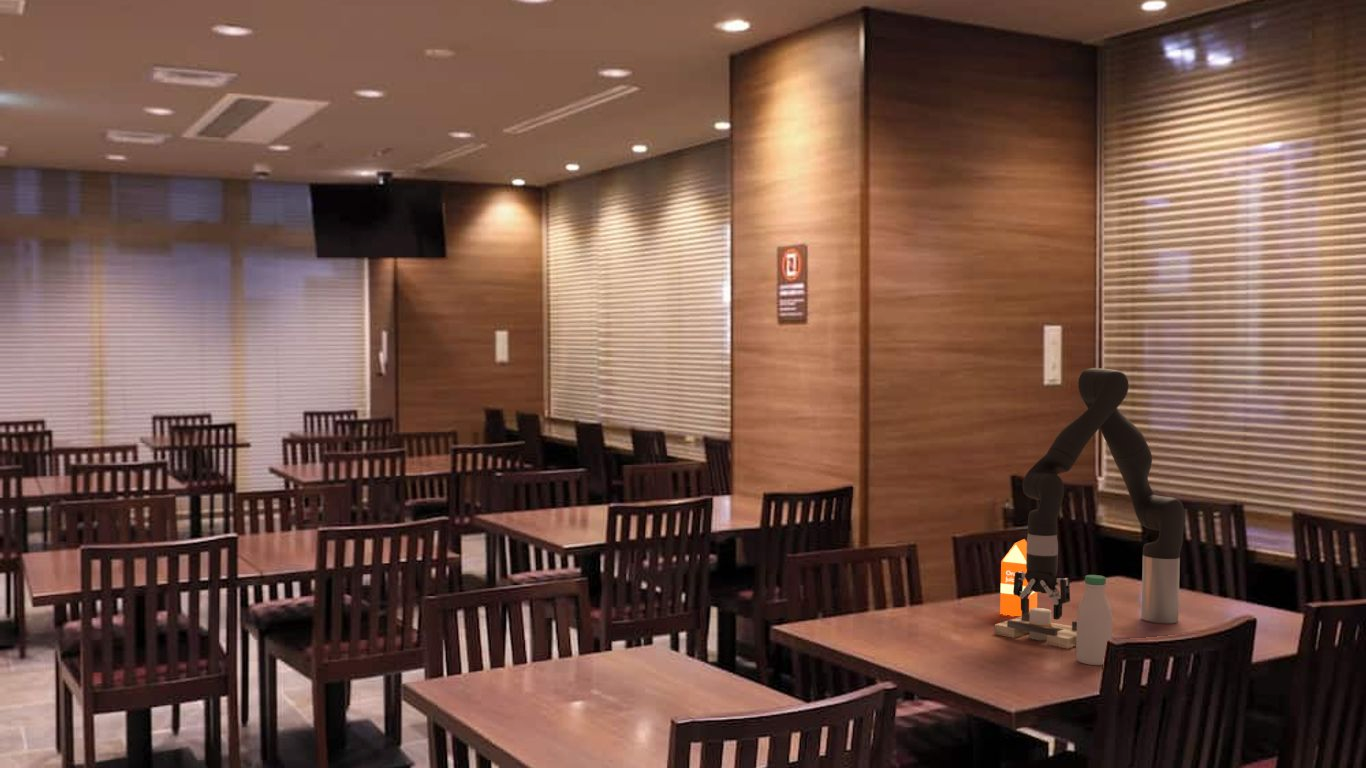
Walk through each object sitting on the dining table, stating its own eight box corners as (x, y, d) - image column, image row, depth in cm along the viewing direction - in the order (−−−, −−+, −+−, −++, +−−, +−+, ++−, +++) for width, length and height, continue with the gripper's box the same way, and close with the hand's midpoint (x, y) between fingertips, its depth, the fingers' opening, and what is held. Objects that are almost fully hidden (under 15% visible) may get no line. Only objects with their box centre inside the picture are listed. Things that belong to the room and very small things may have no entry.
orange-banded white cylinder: (1035, 634, 308) (1036, 606, 307) (1055, 638, 304) (1055, 610, 303) (1024, 637, 304) (1025, 610, 303) (1044, 641, 300) (1045, 613, 300)
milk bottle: (1113, 667, 277) (1115, 580, 276) (1078, 665, 278) (1079, 578, 277) (1108, 658, 284) (1110, 574, 283) (1074, 656, 286) (1076, 572, 285)
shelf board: (1020, 625, 316) (1021, 609, 316) (1093, 639, 302) (1093, 622, 302) (994, 633, 307) (994, 616, 307) (1067, 648, 293) (1068, 630, 293)
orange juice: (1037, 612, 333) (1039, 539, 332) (1028, 618, 325) (1029, 544, 325) (1009, 608, 337) (1010, 537, 336) (999, 614, 330) (1000, 541, 329)
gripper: (1075, 553, 301) (1074, 618, 301) (1023, 546, 311) (1022, 609, 311) (1061, 557, 295) (1059, 623, 296) (1008, 550, 305) (1007, 613, 306)
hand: (1040, 616), depth 304 cm, fingers open, 8 cm apart
